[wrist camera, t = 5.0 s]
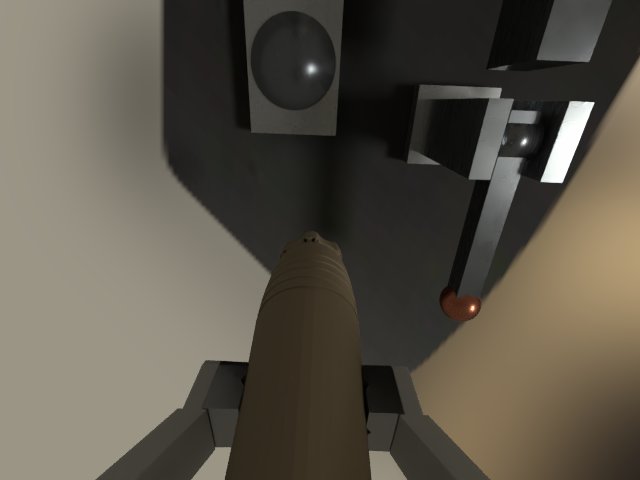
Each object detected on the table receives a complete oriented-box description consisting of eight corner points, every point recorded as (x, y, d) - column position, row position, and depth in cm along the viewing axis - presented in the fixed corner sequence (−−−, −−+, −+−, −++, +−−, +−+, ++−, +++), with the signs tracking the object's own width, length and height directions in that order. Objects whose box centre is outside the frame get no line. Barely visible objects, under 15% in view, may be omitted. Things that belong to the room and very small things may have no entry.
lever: (511, -49, 15) (581, -104, 11) (565, -46, 15) (654, -100, 11) (427, 298, 24) (448, 337, 20) (460, 299, 24) (488, 338, 20)
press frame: (247, -16, 21) (179, -123, 11) (515, -3, 21) (689, -97, 11) (256, 154, 26) (216, 187, 16) (472, 162, 27) (565, 200, 16)
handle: (250, 215, 15) (-215, 1014, 2) (371, 214, 15) (709, 1028, 2) (259, 289, 18) (64, 913, 4) (365, 288, 18) (509, 915, 4)
